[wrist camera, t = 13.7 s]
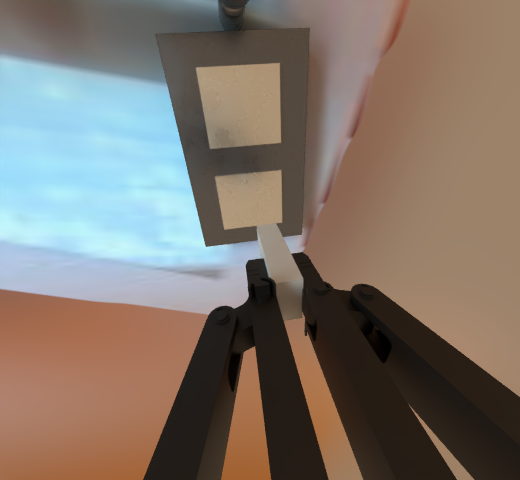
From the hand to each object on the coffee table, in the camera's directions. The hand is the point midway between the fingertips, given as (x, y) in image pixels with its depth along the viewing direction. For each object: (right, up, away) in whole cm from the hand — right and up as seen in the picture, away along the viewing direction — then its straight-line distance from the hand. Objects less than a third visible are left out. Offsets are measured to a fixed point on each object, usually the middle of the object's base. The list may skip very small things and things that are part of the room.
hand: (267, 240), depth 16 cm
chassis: (-3, +12, +10) cm, 16 cm away
